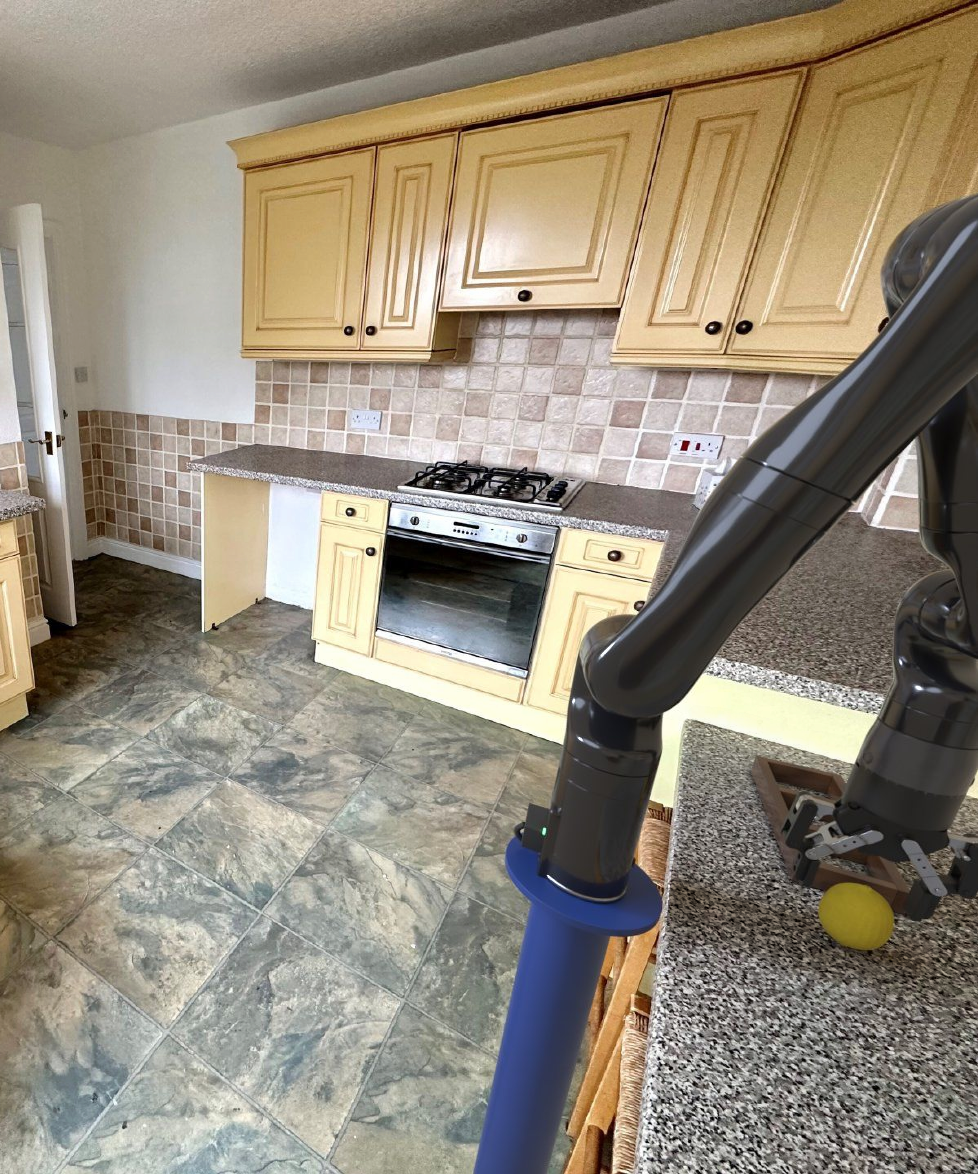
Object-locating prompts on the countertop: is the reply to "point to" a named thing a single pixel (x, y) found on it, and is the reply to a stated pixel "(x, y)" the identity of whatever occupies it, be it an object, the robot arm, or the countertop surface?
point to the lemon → (856, 916)
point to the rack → (778, 807)
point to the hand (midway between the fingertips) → (854, 898)
